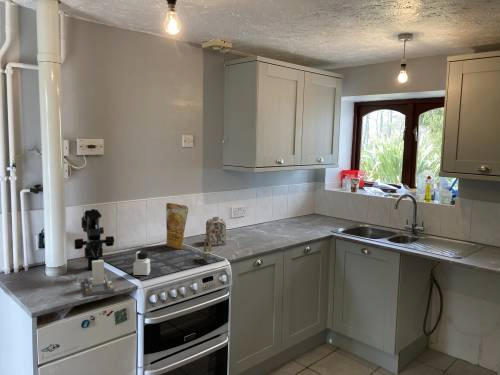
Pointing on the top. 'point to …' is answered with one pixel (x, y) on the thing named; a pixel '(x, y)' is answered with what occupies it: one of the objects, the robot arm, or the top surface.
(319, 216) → the top surface
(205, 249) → the architectural model
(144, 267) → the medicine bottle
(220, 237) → the decorative jar
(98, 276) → the slider tab
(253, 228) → the top surface
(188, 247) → the top surface
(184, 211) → the pancake mix bag
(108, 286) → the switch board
